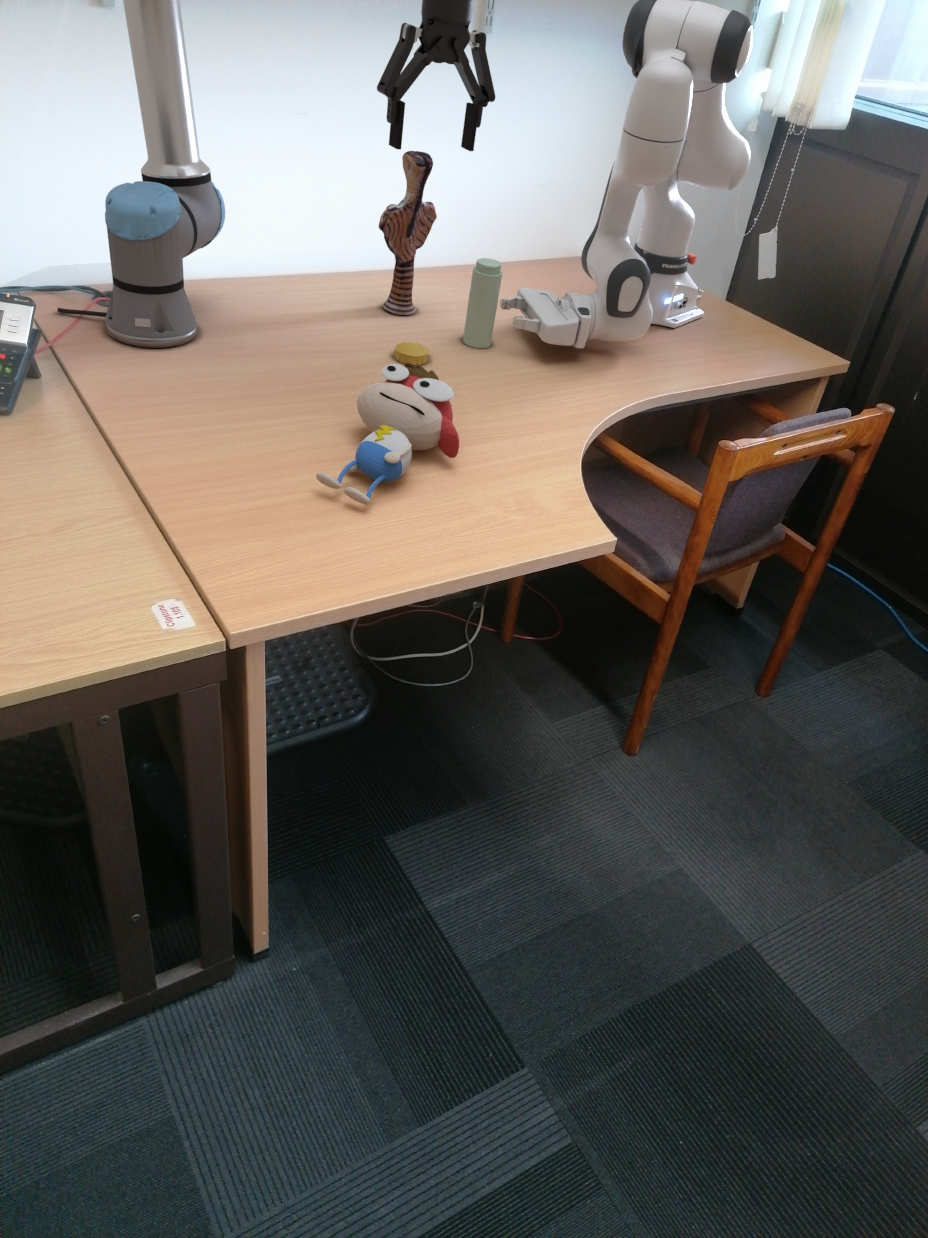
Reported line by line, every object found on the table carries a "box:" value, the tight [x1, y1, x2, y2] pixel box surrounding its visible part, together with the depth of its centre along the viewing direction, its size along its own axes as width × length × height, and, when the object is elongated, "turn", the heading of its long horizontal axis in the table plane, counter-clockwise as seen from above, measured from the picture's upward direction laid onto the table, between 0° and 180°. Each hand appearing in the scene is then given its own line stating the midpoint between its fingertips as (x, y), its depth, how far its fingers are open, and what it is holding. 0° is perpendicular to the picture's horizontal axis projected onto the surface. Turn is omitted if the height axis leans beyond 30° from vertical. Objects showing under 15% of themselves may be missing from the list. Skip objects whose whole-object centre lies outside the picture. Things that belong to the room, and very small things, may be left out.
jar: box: [462, 257, 503, 349], centre depth 171 cm, size 6×6×16 cm
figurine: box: [378, 150, 438, 316], centre depth 174 cm, size 15×8×30 cm, turn 144°
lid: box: [393, 341, 430, 366], centre depth 165 cm, size 6×6×2 cm
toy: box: [315, 363, 460, 505], centre depth 132 cm, size 18×10×30 cm
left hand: (431, 148), depth 143 cm, fingers open, 13 cm apart
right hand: (507, 312), depth 174 cm, fingers open, 8 cm apart
